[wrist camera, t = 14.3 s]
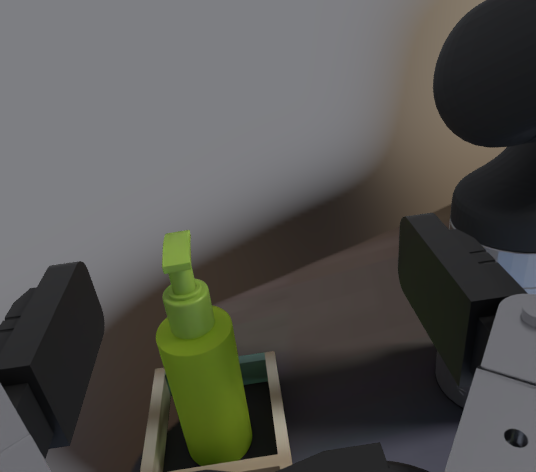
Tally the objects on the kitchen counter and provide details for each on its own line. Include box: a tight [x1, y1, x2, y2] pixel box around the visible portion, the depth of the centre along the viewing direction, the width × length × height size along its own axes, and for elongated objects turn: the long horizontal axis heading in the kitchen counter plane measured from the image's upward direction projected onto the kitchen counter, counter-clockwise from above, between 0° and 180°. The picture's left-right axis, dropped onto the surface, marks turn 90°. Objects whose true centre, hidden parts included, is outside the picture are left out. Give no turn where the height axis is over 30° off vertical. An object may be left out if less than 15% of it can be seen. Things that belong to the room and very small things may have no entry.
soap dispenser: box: [156, 230, 252, 466], centre depth 38 cm, size 6×7×20 cm
